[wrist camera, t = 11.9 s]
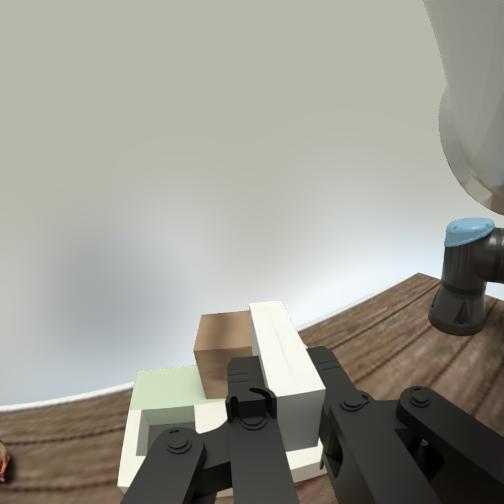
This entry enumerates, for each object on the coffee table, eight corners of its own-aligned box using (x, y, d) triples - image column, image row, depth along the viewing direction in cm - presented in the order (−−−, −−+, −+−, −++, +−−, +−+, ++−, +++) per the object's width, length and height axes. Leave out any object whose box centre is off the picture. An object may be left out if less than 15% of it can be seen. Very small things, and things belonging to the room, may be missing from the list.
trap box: (305, 361, 50) (305, 344, 49) (365, 458, 27) (371, 441, 26) (144, 387, 45) (137, 371, 44) (130, 499, 22) (117, 486, 21)
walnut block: (257, 355, 47) (252, 310, 44) (261, 395, 37) (256, 345, 35) (210, 359, 47) (201, 314, 44) (206, 399, 37) (193, 350, 35)
